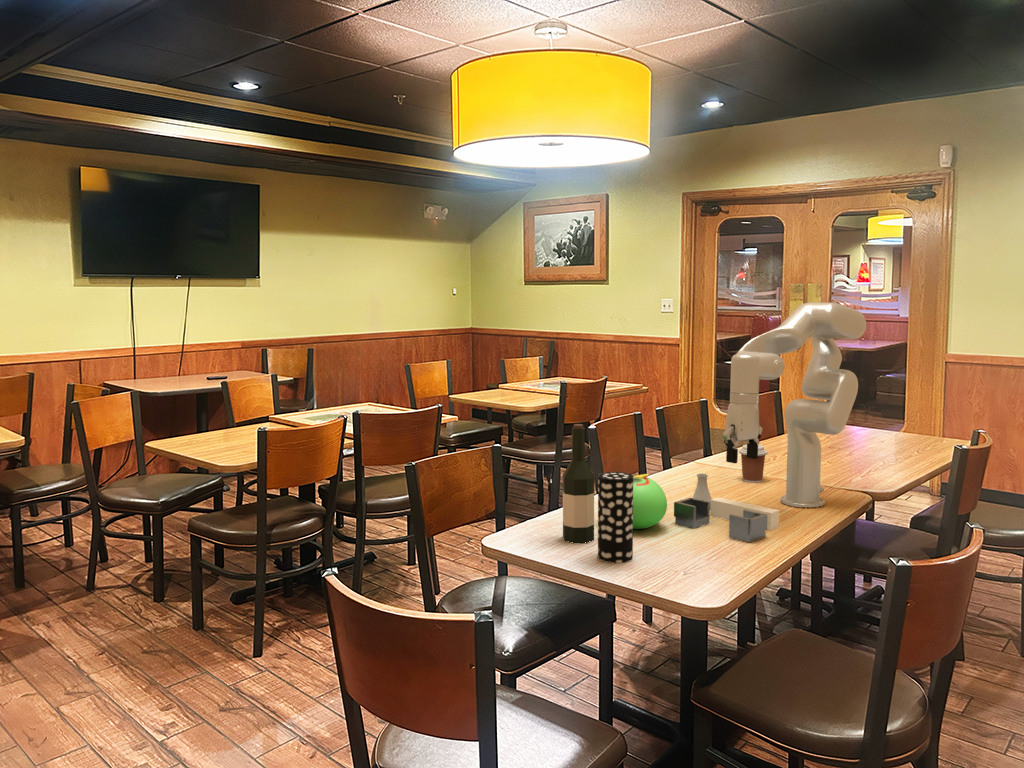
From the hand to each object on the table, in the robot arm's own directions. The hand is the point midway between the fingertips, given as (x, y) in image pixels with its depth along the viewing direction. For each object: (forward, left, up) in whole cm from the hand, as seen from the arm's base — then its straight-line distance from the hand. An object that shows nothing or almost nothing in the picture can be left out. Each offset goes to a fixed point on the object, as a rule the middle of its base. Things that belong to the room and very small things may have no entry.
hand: (742, 460), depth 214 cm
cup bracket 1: (+12, -8, -17) cm, 22 cm away
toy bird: (+26, -17, -17) cm, 35 cm away
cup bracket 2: (+12, +9, -17) cm, 23 cm away
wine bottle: (+45, -20, -17) cm, 52 cm away
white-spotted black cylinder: (+49, -4, -17) cm, 52 cm away
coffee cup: (-45, -24, -17) cm, 54 cm away
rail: (0, +1, -18) cm, 18 cm away
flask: (-4, -16, -18) cm, 24 cm away
